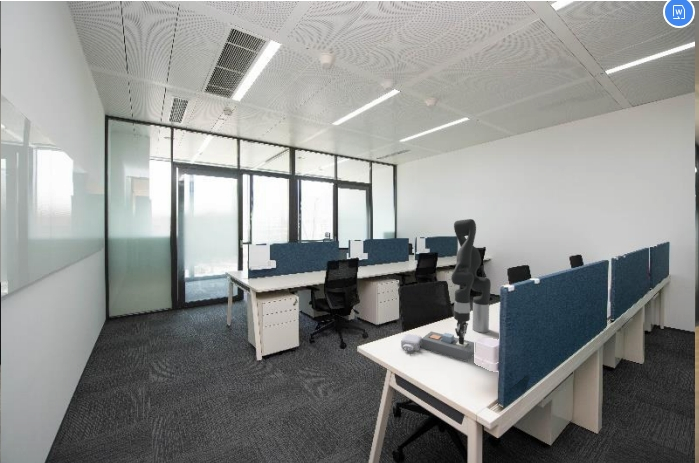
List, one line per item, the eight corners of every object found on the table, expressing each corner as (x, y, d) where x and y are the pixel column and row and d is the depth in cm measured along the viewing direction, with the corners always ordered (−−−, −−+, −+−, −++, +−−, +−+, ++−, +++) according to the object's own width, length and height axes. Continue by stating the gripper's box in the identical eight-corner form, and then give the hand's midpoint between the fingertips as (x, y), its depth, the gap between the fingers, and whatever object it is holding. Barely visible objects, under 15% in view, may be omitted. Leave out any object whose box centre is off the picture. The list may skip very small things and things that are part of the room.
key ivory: (458, 350, 150) (458, 340, 150) (467, 352, 147) (467, 343, 147) (455, 353, 146) (455, 343, 146) (464, 356, 143) (464, 346, 143)
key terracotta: (432, 343, 159) (432, 334, 159) (440, 345, 156) (440, 336, 156) (429, 346, 155) (429, 336, 155) (437, 348, 152) (437, 339, 152)
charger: (397, 352, 148) (405, 341, 162) (415, 356, 144) (421, 344, 158) (397, 343, 148) (405, 333, 162) (415, 347, 144) (421, 336, 158)
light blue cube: (445, 341, 154) (445, 332, 154) (453, 344, 151) (453, 334, 151) (442, 344, 151) (442, 335, 150) (450, 347, 148) (450, 337, 148)
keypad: (431, 339, 164) (431, 331, 164) (475, 352, 149) (475, 342, 148) (421, 347, 154) (421, 338, 153) (467, 361, 139) (467, 351, 138)
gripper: (458, 305, 153) (458, 337, 154) (450, 311, 143) (449, 345, 144) (473, 308, 149) (472, 341, 149) (465, 315, 138) (464, 350, 139)
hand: (461, 343), depth 146 cm, fingers closed
